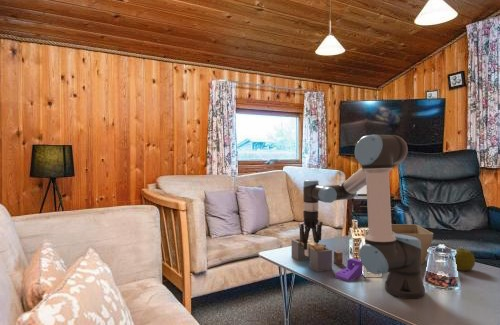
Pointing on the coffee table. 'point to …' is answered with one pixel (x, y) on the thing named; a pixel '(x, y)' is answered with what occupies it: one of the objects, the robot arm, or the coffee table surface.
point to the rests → (336, 256)
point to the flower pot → (415, 232)
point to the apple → (464, 260)
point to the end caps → (313, 256)
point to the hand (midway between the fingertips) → (310, 254)
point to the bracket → (350, 270)
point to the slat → (313, 245)
